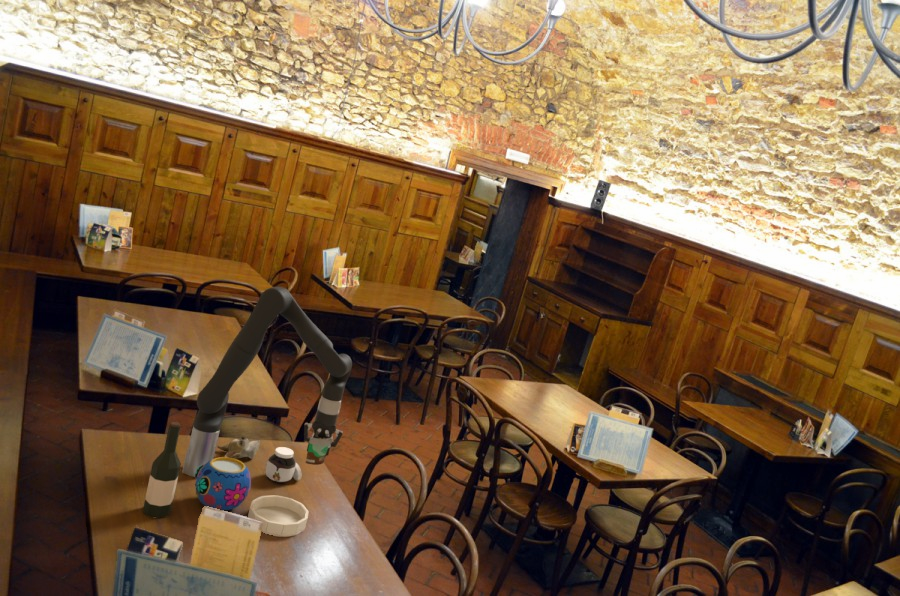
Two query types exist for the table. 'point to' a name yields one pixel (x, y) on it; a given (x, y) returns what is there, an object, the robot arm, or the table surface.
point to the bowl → (279, 515)
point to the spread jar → (282, 466)
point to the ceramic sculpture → (240, 448)
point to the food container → (318, 450)
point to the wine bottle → (163, 477)
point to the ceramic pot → (222, 483)
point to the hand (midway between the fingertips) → (317, 454)
